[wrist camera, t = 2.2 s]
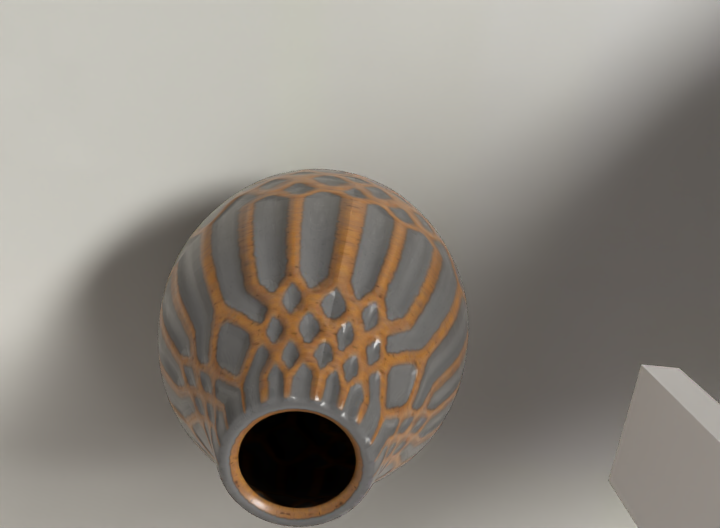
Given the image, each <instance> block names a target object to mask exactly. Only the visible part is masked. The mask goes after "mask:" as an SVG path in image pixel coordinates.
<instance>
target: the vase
mask: <svg viewBox="0 0 720 528" xmlns="http://www.w3.org/2000/svg"><path fill="white" fill-rule="evenodd" d="M468 330H469V323H468V311H467V303H466V297H465V292H464V288H463V284H462V281H461V278H460V275H459V273H458V270H457V267H456V265H455V263H454V260H453V258H452V256H451V254H450V252H449V250H448V249H447V247H446V245H445V243H444V242H443V240H442V239H441V237H440V236H439V234H438V233H437V231H436V230H435V229H434V227H433V226H432V225H431V224H430V222H429V221H428V220H427V219H426V218H425V217H424V216H423V215H422V214H421V213H420V212H419V210H418V209H416V208H415V207H414V206H413V205H412V204H411V203H410V202H409V201H407V200H406V199H405V198H403V197H402V196H401V195H399V194H398V193H396V192H395V191H393V190H392V189H390V188H388V187H386V186H384V185H382V184H380V183H378V182H376V181H373V180H371V179H368V178H366V177H363V176H360V175H356V174H352V173H348V172H343V171H336V170H327V169H307V170H297V171H290V172H286V173H281V174H278V175H274V176H271V177H268V178H266V179H263V180H261V181H258V182H256V183H254V184H252V185H250V186H248V187H246V188H245V189H243V190H241V191H239V192H238V193H236V194H234V195H233V196H232V197H230V198H229V199H227V200H226V201H225V202H223V203H222V204H221V205H220V206H219V207H218V208H216V209H215V210H214V211H213V212H212V213H211V214H210V215H209V216H208V217H207V218H206V219H205V220H204V221H203V222H202V223H201V224H200V225H199V226H198V228H197V229H196V230H195V231H194V233H193V234H192V235H191V236H190V238H189V239H188V241H187V242H186V244H185V245H184V246H183V248H182V250H181V252H180V253H179V255H178V257H177V259H176V261H175V263H174V265H173V268H172V270H171V272H170V275H169V278H168V281H167V283H166V286H165V290H164V294H163V298H162V303H161V309H160V315H159V327H158V353H159V363H160V369H161V375H162V379H163V383H164V386H165V390H166V393H167V396H168V399H169V401H170V404H171V406H172V408H173V410H174V412H175V414H176V416H177V418H178V419H179V421H180V423H181V425H182V426H183V428H184V429H185V431H186V432H187V434H188V435H189V436H190V438H191V439H192V440H193V441H194V443H195V444H196V445H197V446H198V447H199V448H200V449H201V450H202V451H203V452H204V453H205V454H206V455H207V456H208V457H209V458H210V459H211V460H212V461H213V462H214V463H215V464H216V465H217V469H218V472H219V475H220V478H221V480H222V482H223V484H224V486H225V488H226V490H227V491H228V493H229V494H230V495H231V496H232V498H233V499H234V500H235V501H236V502H237V503H238V504H239V505H240V506H241V507H243V508H244V509H245V510H247V511H248V512H250V513H251V514H253V515H255V516H256V517H259V518H261V519H263V520H265V521H268V522H271V523H275V524H279V525H284V526H294V527H303V526H313V525H318V524H323V523H326V522H329V521H332V520H334V519H336V518H338V517H340V516H342V515H344V514H346V513H347V512H349V511H350V510H351V509H353V508H354V507H355V506H356V505H357V504H358V503H359V502H360V501H361V500H362V499H363V498H364V496H365V495H366V494H367V492H368V491H369V489H370V488H371V486H372V485H373V483H375V482H377V481H379V480H381V479H383V478H384V477H386V476H388V475H389V474H391V473H393V472H394V471H396V470H397V469H399V468H400V467H402V466H403V465H404V464H405V463H407V462H408V461H409V460H410V459H412V458H413V457H414V456H415V455H416V454H417V453H418V452H419V451H420V450H421V449H422V448H423V447H424V446H425V445H426V444H427V443H428V442H429V440H430V439H431V438H432V437H433V435H434V434H435V433H436V431H437V430H438V428H439V427H440V425H441V424H442V422H443V420H444V419H445V417H446V415H447V413H448V412H449V410H450V408H451V406H452V403H453V401H454V399H455V396H456V393H457V391H458V388H459V385H460V382H461V378H462V375H463V371H464V366H465V361H466V355H467V346H468Z"/></svg>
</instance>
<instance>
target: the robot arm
mask: <svg viewBox="0 0 720 528" xmlns="http://www.w3.org/2000/svg"><path fill="white" fill-rule="evenodd" d="M608 481H609V483H610V484H611V486H612V487H613V489H614V490H615V492H616V494H617V495H618V497H619V498H620V500H621V501H622V503H623V505H624V506H625V508H626V509H627V511H628V512H629V514H630V516H631V517H632V519H633V520H634V522H635V523H636V525H637V527H638V528H720V404H719V403H718V402H717V401H716V400H714V399H713V398H712V397H711V396H710V395H709V394H708V393H707V392H705V391H704V390H703V389H702V388H701V387H700V386H699V385H698V384H696V383H695V382H694V381H693V380H692V379H691V378H690V377H689V376H687V375H686V374H685V373H684V372H683V371H682V370H681V369H680V368H674V367H663V366H652V365H641V367H640V371H639V374H638V378H637V381H636V385H635V388H634V392H633V395H632V399H631V402H630V406H629V409H628V413H627V416H626V420H625V423H624V427H623V430H622V434H621V437H620V441H619V444H618V448H617V451H616V455H615V458H614V462H613V465H612V469H611V472H610V476H609V479H608Z"/></svg>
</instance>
